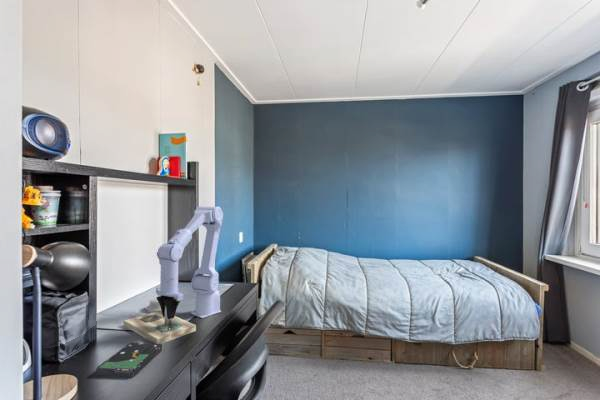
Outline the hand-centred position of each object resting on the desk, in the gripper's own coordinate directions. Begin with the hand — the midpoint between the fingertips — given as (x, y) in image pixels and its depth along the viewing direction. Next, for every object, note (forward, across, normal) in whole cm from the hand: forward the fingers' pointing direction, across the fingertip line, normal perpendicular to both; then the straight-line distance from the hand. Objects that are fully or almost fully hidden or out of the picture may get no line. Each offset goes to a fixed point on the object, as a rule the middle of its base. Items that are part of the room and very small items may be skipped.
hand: (168, 317), depth 106 cm
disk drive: (+6, +10, -17) cm, 21 cm away
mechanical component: (+6, -25, +10) cm, 28 cm away
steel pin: (+3, 0, 0) cm, 3 cm away
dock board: (+5, -6, 0) cm, 8 cm away
